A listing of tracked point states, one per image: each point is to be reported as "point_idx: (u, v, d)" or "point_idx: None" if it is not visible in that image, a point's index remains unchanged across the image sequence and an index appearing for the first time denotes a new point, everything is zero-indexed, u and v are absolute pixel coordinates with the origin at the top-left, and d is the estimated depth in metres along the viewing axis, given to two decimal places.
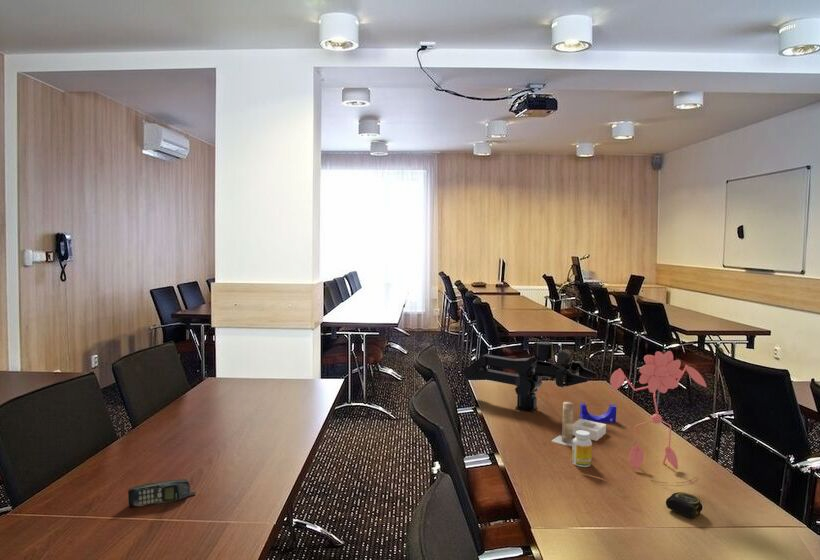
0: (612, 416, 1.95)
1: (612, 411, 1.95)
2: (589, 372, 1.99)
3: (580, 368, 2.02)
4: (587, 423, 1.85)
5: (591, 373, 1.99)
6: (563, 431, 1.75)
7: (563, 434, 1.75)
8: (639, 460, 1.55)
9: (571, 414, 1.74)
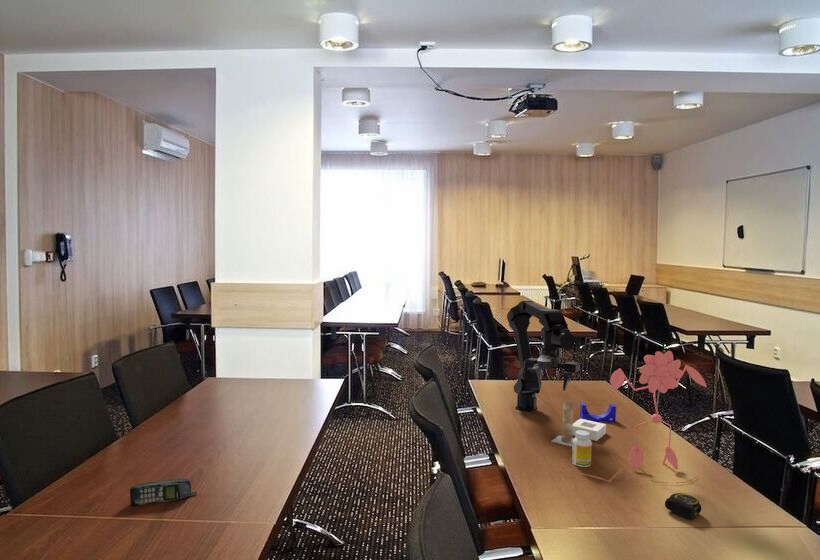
0: (612, 416, 1.96)
1: (612, 411, 1.96)
2: None
3: None
4: (587, 423, 1.85)
5: None
6: (563, 431, 1.75)
7: (563, 434, 1.75)
8: (639, 460, 1.55)
9: (571, 414, 1.74)
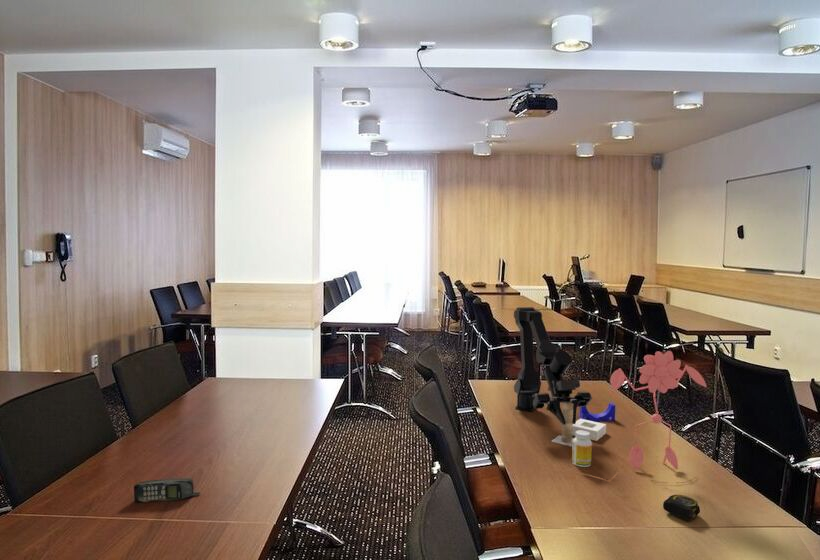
0: (611, 415, 1.97)
1: (611, 409, 1.97)
2: None
3: None
4: (587, 423, 1.85)
5: None
6: (563, 431, 1.75)
7: (563, 434, 1.75)
8: (639, 460, 1.55)
9: (571, 414, 1.74)
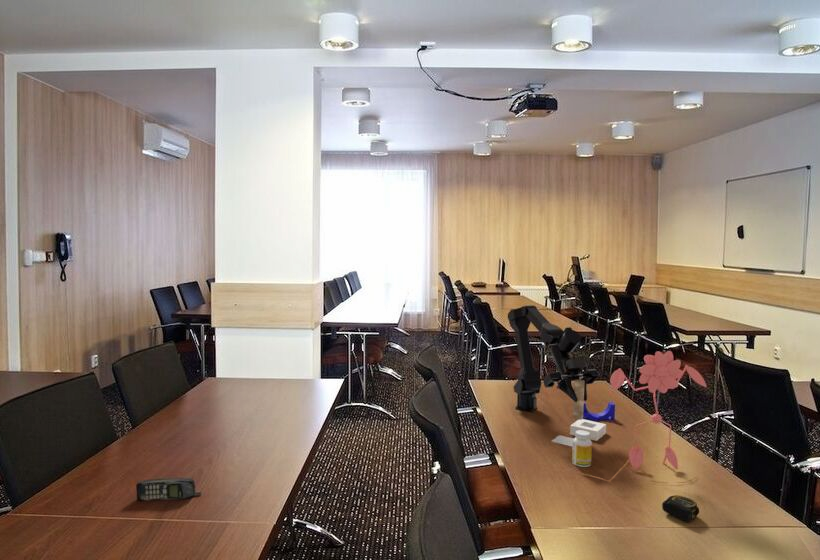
0: (611, 414, 1.98)
1: (611, 409, 1.98)
2: None
3: None
4: (587, 423, 1.85)
5: None
6: (575, 408, 1.77)
7: (575, 411, 1.77)
8: (639, 460, 1.55)
9: (583, 391, 1.76)
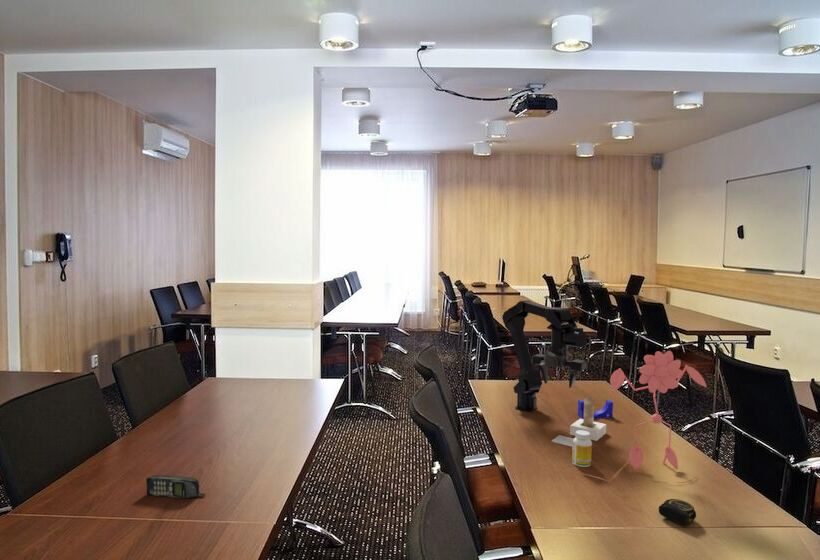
0: (609, 412, 2.01)
1: (609, 406, 2.00)
2: None
3: None
4: None
5: None
6: None
7: None
8: (639, 460, 1.55)
9: (593, 408, 1.81)
